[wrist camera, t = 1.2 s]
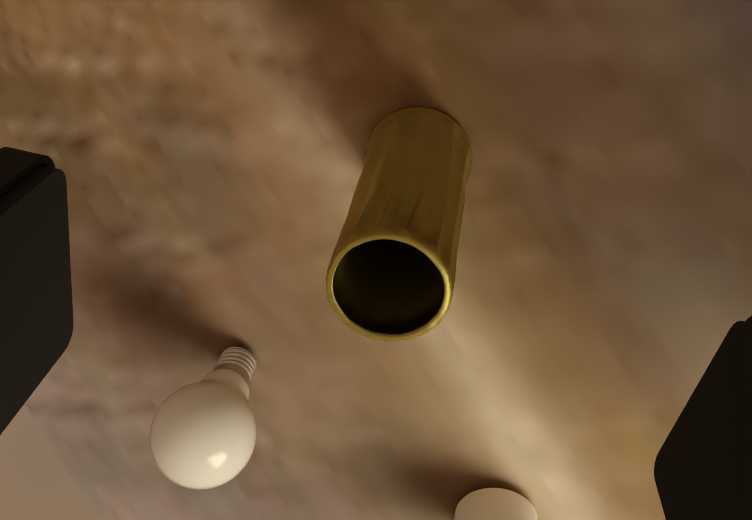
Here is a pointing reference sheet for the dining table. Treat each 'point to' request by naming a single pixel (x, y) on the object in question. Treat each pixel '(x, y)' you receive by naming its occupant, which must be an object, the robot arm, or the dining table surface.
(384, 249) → the vase
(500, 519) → the beverage can
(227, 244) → the dining table surface
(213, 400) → the lightbulb
